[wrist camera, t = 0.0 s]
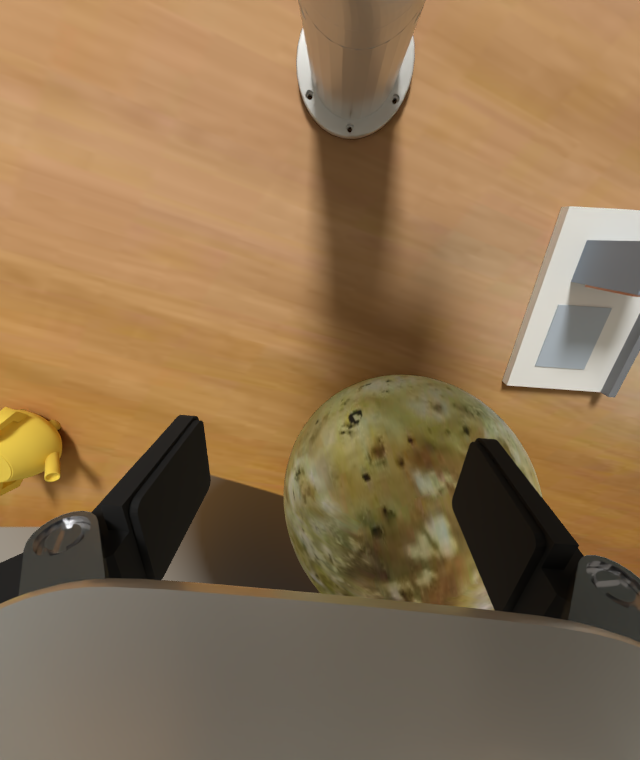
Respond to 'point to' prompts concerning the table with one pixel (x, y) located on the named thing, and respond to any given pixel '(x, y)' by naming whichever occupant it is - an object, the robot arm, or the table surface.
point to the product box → (610, 266)
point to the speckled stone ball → (390, 491)
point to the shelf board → (578, 313)
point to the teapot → (27, 448)
